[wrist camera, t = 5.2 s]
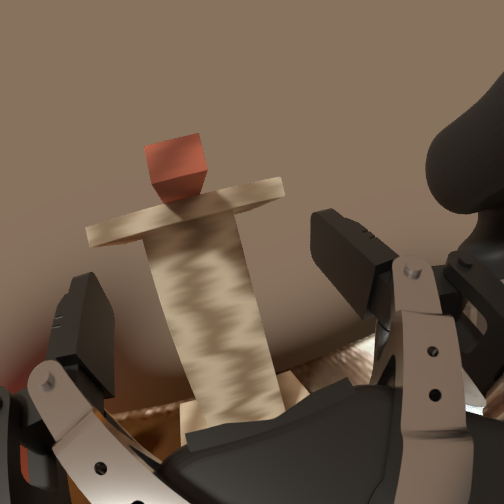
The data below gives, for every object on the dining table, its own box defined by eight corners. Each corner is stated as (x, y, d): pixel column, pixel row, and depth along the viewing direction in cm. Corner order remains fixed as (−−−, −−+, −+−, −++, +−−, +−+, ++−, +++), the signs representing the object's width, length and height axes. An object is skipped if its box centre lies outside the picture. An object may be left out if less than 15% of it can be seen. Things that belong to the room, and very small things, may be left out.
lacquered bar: (194, 210, 42) (190, 194, 42) (207, 170, 17) (198, 133, 17) (172, 216, 41) (168, 200, 41) (151, 184, 16) (144, 146, 16)
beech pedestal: (292, 379, 47) (247, 197, 44) (332, 428, 31) (280, 176, 28) (184, 412, 43) (120, 231, 40) (188, 475, 27) (85, 227, 24)
